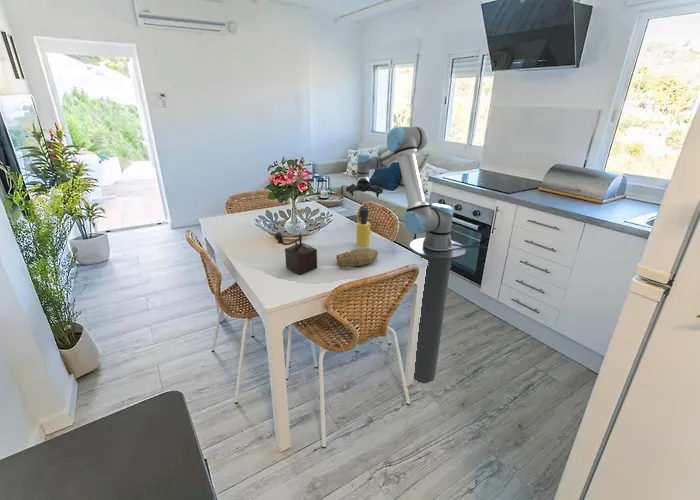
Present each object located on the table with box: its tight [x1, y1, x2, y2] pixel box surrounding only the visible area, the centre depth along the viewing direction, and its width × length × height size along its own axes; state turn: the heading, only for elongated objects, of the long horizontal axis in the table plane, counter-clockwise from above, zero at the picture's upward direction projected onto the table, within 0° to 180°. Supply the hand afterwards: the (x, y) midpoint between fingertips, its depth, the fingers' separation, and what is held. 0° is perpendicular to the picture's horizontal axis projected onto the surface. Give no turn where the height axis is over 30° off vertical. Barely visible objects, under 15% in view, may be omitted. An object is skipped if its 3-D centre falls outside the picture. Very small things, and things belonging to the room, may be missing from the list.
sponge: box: [335, 247, 379, 268], centre depth 162 cm, size 13×8×20 cm
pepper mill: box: [273, 231, 318, 276], centre depth 152 cm, size 16×11×18 cm
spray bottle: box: [355, 207, 371, 248], centre depth 182 cm, size 7×8×20 cm
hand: (365, 194), depth 186 cm, fingers open, 13 cm apart
